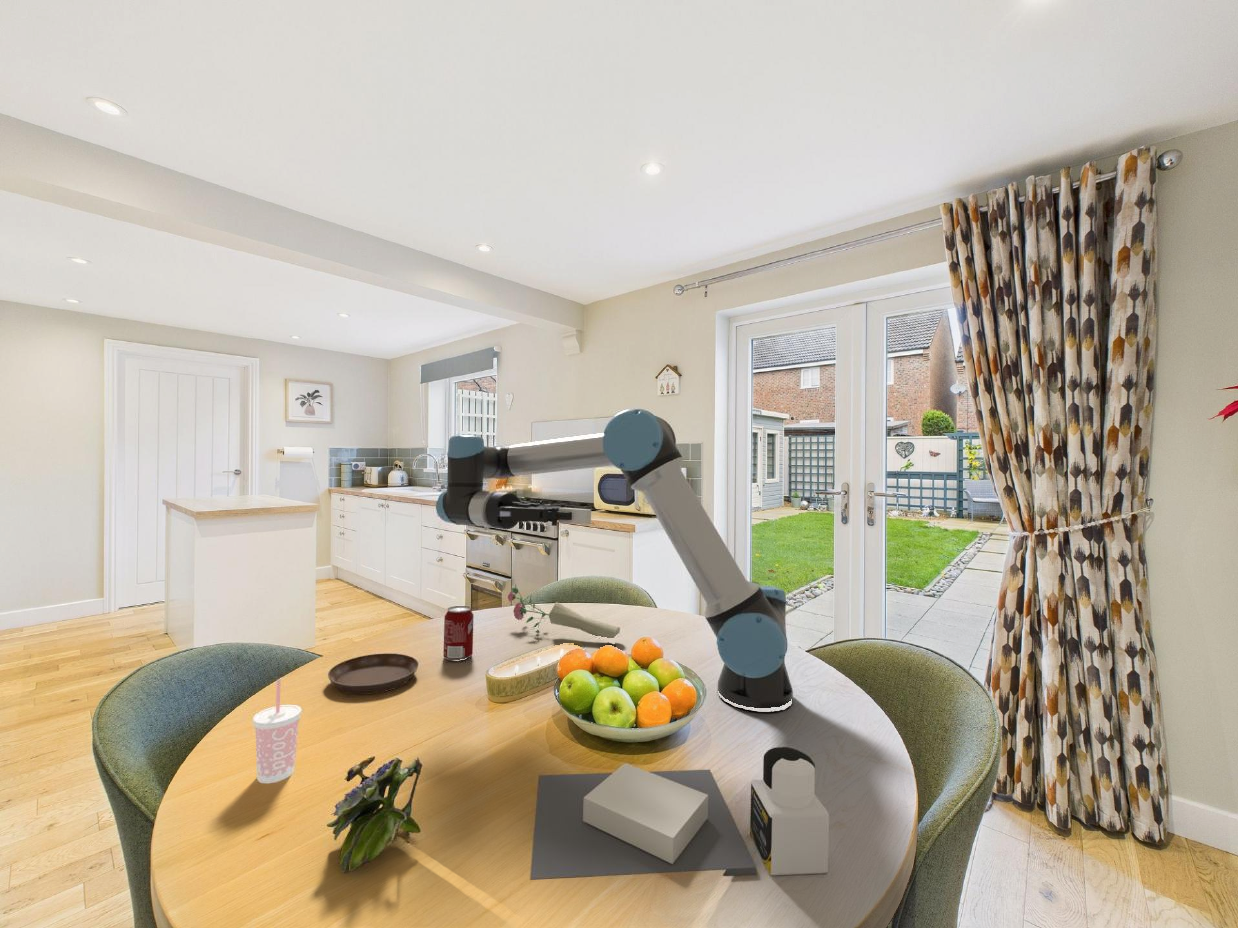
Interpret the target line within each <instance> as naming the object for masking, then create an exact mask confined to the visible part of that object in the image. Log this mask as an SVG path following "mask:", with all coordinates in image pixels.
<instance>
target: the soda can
mask: <svg viewBox="0 0 1238 928" xmlns="http://www.w3.org/2000/svg"><path fill="white" fill-rule="evenodd" d="M473 644H474V613H473V612H472V607H471V606H469V605H464V604H462V605H453V606H449V607H447V612H446V614H445V615H444V624H443V658H444V659H445V660H448V661H449V660H460V659H465V658H468V657H469V658H470V656H471V655H472V656H473V649H474V645H473ZM472 656H471V657H472ZM469 658H468V659H469Z"/></svg>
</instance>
